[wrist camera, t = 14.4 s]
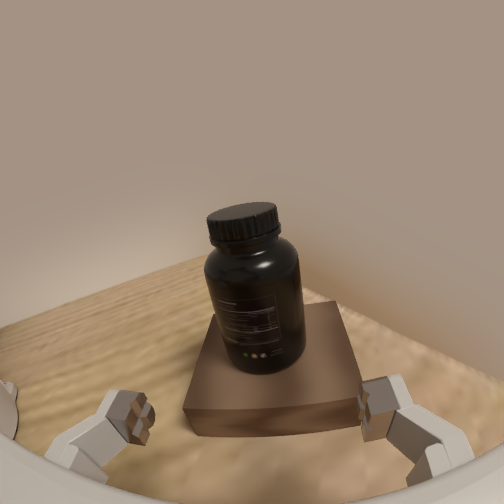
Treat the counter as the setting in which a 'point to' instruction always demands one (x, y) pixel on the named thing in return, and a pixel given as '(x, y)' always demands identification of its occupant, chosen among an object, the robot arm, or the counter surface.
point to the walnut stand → (278, 385)
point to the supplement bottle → (255, 288)
